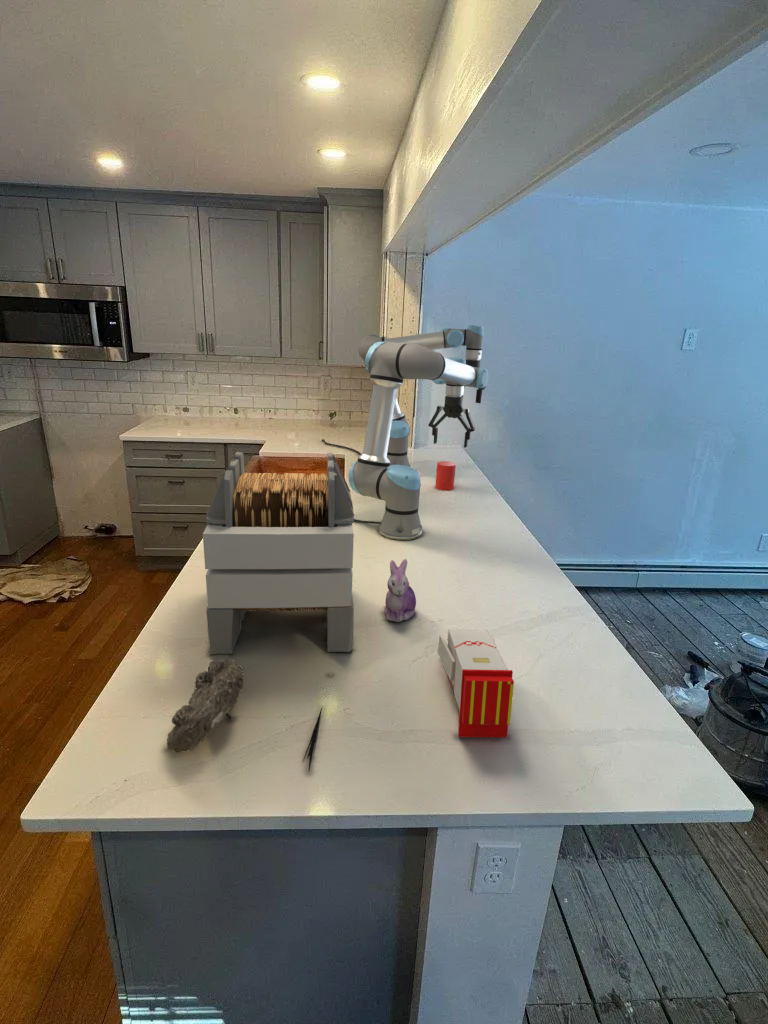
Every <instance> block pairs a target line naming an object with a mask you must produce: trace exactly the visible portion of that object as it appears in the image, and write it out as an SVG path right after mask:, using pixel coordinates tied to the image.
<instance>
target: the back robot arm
mask: <svg viewBox="0 0 768 1024" xmlns="http://www.w3.org/2000/svg"><path fill="white" fill-rule="evenodd" d="M484 330H485V328H484V326H483V325H478V324H477V325H475V324H469V325H468V326H467V328H451V327H449V328H448V327H447V328H443V329H442V331H435V332H427V333H419V334H412V335H403V336H397V337H387V336H379V335H377V334H368V335H367V336H364V337H363V338H362V339H361V340H360V341H359V343H358V346H357V352H358V355H359V357H360V358H361V359H362V360H363V364H364V367H365V368H366V366H365V359H366V355H367V352H368V350H369V349H370V347H371V346H373V344H375V343H377V342H386V341H389V342H398V343H407V344H416V345H420V346H422V347H425V348H428V349H430V350H433V351H435V350H442V349H451V348H453V349H456V348H460V347H464V346H465V347H466V348H465V354H464V355H465V356H464V359H465V360H466V365H469V366H472V367H476V368H481V366H482V365H481V364H482V361H481V359H482V355H483V353H482V351H483V344H484V332H485V331H484ZM465 387H466V386H464V388H465ZM486 387H487V385H486V386H485V387H484V388H476V393H475V404H482V396H483V391H484V390H485V389H486ZM462 397H463V398H464V394H463V395H462ZM405 414H406V413H404V412H402V410H401V408H400V405H399V401H398V398H397V397H396V401H395V408H394V414H393V420H392V427H391V433H390V439H389V446H388V452H387V458H388V459H389V461H390V466H391V465H405V466H409V467H411V465H410V461H409V456H408V452H409V437H410V433H411V428H410V424H409V423H408V421H407V418H406V417H407V416H406V415H405ZM320 442H321V443H322V442H323V443H324V444H325V445H327V446H332V447H337V448H341V449H347V450H349V451H352V452H354V453H356V454H358V455H359V456H360V455H361V454H362V453H361V452H360V451H358V450H356V449H354V448H352V447H347V446H345V445H339V444H335V443H329V442H326V440H325V439H324V438H323V439H321V441H320Z"/></svg>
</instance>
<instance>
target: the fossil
mask: <svg viewBox="0 0 768 1024" xmlns="http://www.w3.org/2000/svg"><path fill="white" fill-rule="evenodd" d="M243 670H244V669H243V667H242V665H240V664H237V662H236V661H235V660H234V659H232V658H231V659H227V658H226V659H224V660H223V661H222V660H217V659H212V660H211V661H210V663H209V665H208V666H207V671H201V672H199V673H198V674H197V675H196V676H195V680H194V684H195V685H194V687H195V689H194V690H193V693H192V694H191V697H190V698H189V700H188V704H184V705H182V706H181V707H180V709H177V710H176V711H175V713H174V715H173V716H172V718H171V723H172V724H173V727H172V730H171V731H170V732H168V734H167V738H166V741H167V742H166V745H167V749H168V750H169V751H173V752H174V753H176V754H178V753H182V752H188V751H189V752H192V751H193V750H195V748H196V747H197V746H199V744H200V743H201V742H203V741H204V740H205V739H206V738H207V737H208V736H209V735H210V734H211V733H212V732H214V730H215V729H217V727H218V726H219V724H220V722H221V721H222V720H223V719H224V718H225V716H226V717H227V719H229V720H233V717H232V715H230V714H229V710H230V709H231V708H234V706H235V704H236V703H237V702H238V699H239V697H240V695H241V693H242V691H243V690H245V689H244V688H245V675H244V671H243Z"/></svg>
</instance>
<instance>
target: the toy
mask: <svg viewBox="0 0 768 1024" xmlns="http://www.w3.org/2000/svg"><path fill="white" fill-rule="evenodd" d="M446 640H447V643H446V641H445V639H444V636H443V635H442V634H439V637H438V646H437V656H438V657H439V659H440V661H441V663H442V666H443V668H444V670H445V672H446V674H447V677H448V679H449V681H450V684H451V687H452V690H453V693H454V697H455V701H456V705H457V708H458V711H459V714H458V715H459V716H458V730H457V731H458V732H457V737H458V738H508V731H509V726H510V725H511V717H512V707H513V697H514V696H513V695H514V684H515V680H514V679H513V673H514V671H513V670H512V669H508V667H507V665H506V662H505V661H504V659H503V658H502V655H501V653H500V651H499V649H498V647H497V643H496V639H495V637H494V635H493V634H491V632H490V631H489V629H467V628H466V629H465V628H463V629H461V628H460V629H459V628H448V630H447V639H446Z"/></svg>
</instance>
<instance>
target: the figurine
mask: <svg viewBox="0 0 768 1024" xmlns="http://www.w3.org/2000/svg"><path fill="white" fill-rule="evenodd" d="M407 567H408V559H406V558H404V559H403V560H402V561H401V563H400V565H399V566H398V565H397V563H396V562H395V561H394V560H393V559H391V560H390V561H389V570H390V576H389V578H388V579H387V589H388V591H387V592H386V594H385V595H386V596H385V607H384V615H385V616H386V620H387V621H391V622H395V623H400V622H402V621H406V620H409V619H410V618H411V617H413V616H414V615H415V610H416V606H417V597H416V593H415V591H414V590H413V587H411V586H410V582H409V579H408V577H407V574H406V571H407Z"/></svg>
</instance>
